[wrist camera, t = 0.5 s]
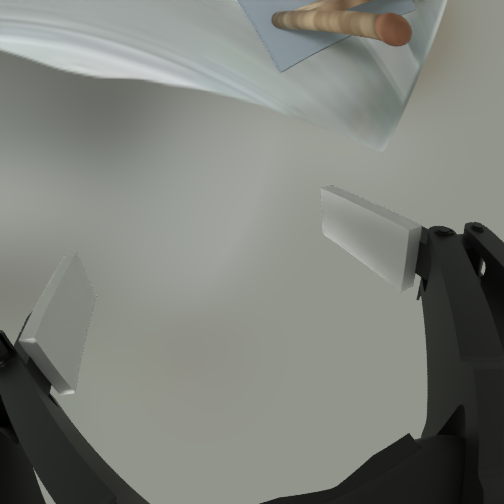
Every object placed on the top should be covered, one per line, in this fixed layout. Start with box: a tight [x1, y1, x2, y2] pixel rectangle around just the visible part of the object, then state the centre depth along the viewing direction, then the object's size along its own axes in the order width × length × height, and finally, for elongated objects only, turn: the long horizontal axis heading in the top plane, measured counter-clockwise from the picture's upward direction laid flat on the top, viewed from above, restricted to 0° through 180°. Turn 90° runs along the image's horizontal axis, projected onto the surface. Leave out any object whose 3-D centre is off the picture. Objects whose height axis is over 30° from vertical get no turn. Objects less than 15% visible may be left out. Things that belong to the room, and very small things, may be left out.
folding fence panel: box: [271, 0, 412, 46], centre depth 23 cm, size 16×4×22 cm, turn 120°
